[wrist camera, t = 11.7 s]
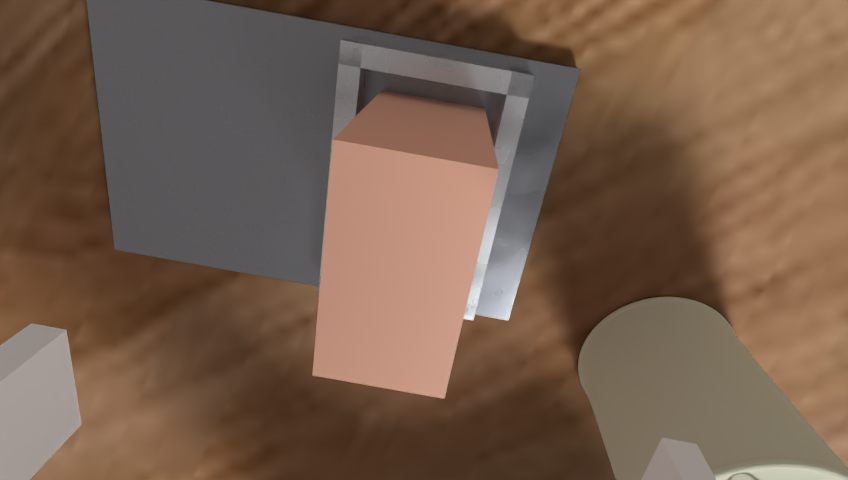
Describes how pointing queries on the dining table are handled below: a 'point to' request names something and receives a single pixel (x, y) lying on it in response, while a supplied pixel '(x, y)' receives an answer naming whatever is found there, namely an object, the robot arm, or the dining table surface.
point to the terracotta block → (402, 241)
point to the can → (694, 396)
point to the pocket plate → (294, 132)
